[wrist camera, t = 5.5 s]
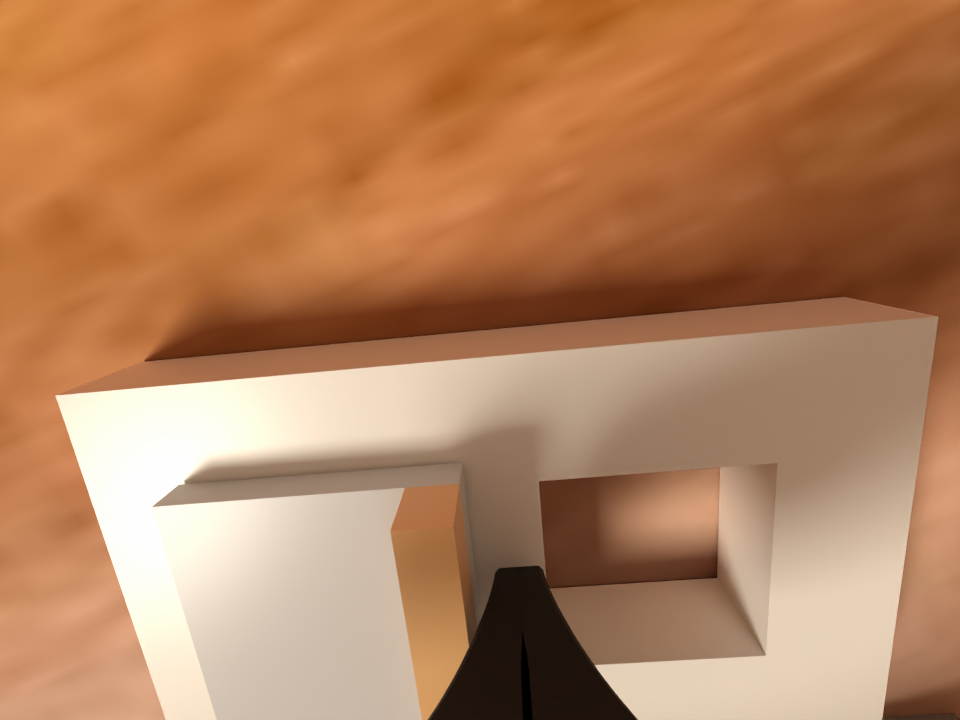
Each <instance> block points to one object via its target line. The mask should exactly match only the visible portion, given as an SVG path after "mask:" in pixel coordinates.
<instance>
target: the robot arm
mask: <svg viewBox="0 0 960 720" xmlns="http://www.w3.org/2000/svg"><path fill="white" fill-rule="evenodd" d="M428 720H638V719H637V718H636V717H635V716H634V715H633V713H632V712H631V711H630V710H629V709H628V707H627V706H626V705H625V704H624V703H623V701H622V700H621V699H620V698H619V697H618V695H617V694H616V693H615V692H614V690H613V689H612V688H611V687H610V685H609V684H608V683H607V681H606V680H605V679H604V678H603V676H602V675H601V673H600V672H599V671H598V669H597V668H596V667H595V665H594V664H593V662H592V661H591V659H590V658H589V656H588V655H587V653H586V652H585V650H584V649H583V647H582V646H581V644H580V643H579V641H578V640H577V638H576V636H575V635H574V633H573V632H572V630H571V628H570V626H569V625H568V623H567V621H566V619H565V618H564V616H563V614H562V612H561V610H560V609H559V607H558V605H557V603H556V601H555V599H554V597H553V595H552V592H551V590H550V588H549V585H548V583H547V580H546V577H545V574H544V571H543V569H542V568H541V567H540V566H523V567H508V568H499V569H498V570H497V571H496V572H495V576H494V581H493V585H492V589H491V593H490V596H489V599H488V602H487V605H486V608H485V610H484V613H483V615H482V618H481V620H480V623H479V625H478V628H477V630H476V633H475V635H474V638H473V640H472V642H471V644H470V646H469V648H468V650H467V652H466V654H465V656H464V658H463V661H462V663H461V665H460V667H459V668H458V670H457V672H456V674H455V676H454V678H453V680H452V681H451V683H450V685H449V687H448V688H447V690H446V692H445V693H444V695H443V697H442V698H441V700H440V702H439V703H438V705H437V706H436V708H435V709H434V711H433V712H432V714H431V716H430V717H429V719H428Z"/></svg>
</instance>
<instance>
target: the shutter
mask: <svg viewBox="0 0 960 720" xmlns="http://www.w3.org/2000/svg"><path fill="white" fill-rule="evenodd" d="M152 510H153V513H154V517H155V520H156V523H157V526H158V530H159V533H160V536H161V539H162V543H163V546H164V549H165V552H166V556H167V559H168V562H169V566H170V569H171V572H172V575H173V579H174V582H175V585H176V588H177V592H178V595H179V598H180V601H181V605H182V608H183V611H184V615H185V618H186V621H187V624H188V628H189V631H190V634H191V637H192V641H193V644H194V647H195V650H196V654H197V657H198V660H199V664H200V667H201V670H202V673H203V677H204V680H205V683H206V686H207V690H208V693H209V696H210V699H211V703H212V706H213V709H214V713H215V716H216V719H217V720H428V719H429V717H430V716H431V714H432V712H433V711H434V709H435V708H436V706H437V705H438V703H439V702H440V700H441V698H442V697H443V695H444V693H445V692H446V690H447V688H448V687H449V685H450V683H451V681H452V680H453V678H454V676H455V674H456V672H457V670H458V668H459V667H460V665H461V663H462V661H463V658H464V656H465V654H466V652H467V650H468V648H469V646H470V644H471V642H472V640H473V638H474V635H475V633H476V630H477V628H478V625H479V623H480V620H481V614H480V605H479V597H478V589H477V580H476V572H475V564H474V556H473V547H472V539H471V531H470V522H469V514H468V506H467V497H466V489H465V481H464V472H463V464H462V463H449V464H437V465H424V466H411V467H398V468H386V469H373V470H360V471H347V472H334V473H322V474H309V475H296V476H283V477H270V478H258V479H245V480H232V481H219V482H206V483H194V484H181V485H178V486H177V487H175V488H174V489H173V490H172V491H170V492H169V493H168V494H167V495H166V496H164V497H163V498H162V499H161V500H159V501H158V502H157V503H156V504H155V505H153V506H152Z"/></svg>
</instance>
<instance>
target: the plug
mask: <svg viewBox="0 0 960 720" xmlns="http://www.w3.org/2000/svg"><path fill="white" fill-rule="evenodd" d="M882 720H960V719H959V718H958V717H957V716H956V715H955V714H954V713H951V714H930V715H909V716H889V717H882Z"/></svg>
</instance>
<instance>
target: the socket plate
mask: <svg viewBox="0 0 960 720" xmlns="http://www.w3.org/2000/svg"><path fill="white" fill-rule="evenodd" d="M938 318H939V316H934V315H929V314H925V313H920V312H915V311H910V310H905V309H901V308H896V307H891V306H886V305H881V304H877V303H872V302H867V301H862V300H857V299H852V298H848V297H837V298H826V299H815V300H804V301H794V302H783V303H772V304H761V305H750V306H740V307H729V308H718V309H707V310H697V311H686V312H675V313H664V314H653V315H643V316H632V317H621V318H610V319H599V320H589V321H578V322H567V323H556V324H545V325H535V326H524V327H513V328H502V329H491V330H481V331H470V332H459V333H448V334H437V335H427V336H416V337H405V338H394V339H383V340H373V341H362V342H351V343H340V344H329V345H319V346H308V347H297V348H286V349H275V350H265V351H254V352H243V353H232V354H221V355H211V356H200V357H189V358H178V359H167V360H157V361H146V362H141V363H138V364H135V365H133V366H130V367H128V368H125V369H123V370H120V371H117V372H115V373H112V374H110V375H107V376H105V377H102V378H100V379H97V380H94V381H92V382H89V383H87V384H84V385H82V386H79V387H76V388H74V389H71V390H69V391H66V392H64V393H61V394H58V395H56V398H57V401H58V404H59V407H60V410H61V413H62V416H63V419H64V422H65V425H66V427H67V430H68V433H69V436H70V439H71V442H72V445H73V448H74V451H75V454H76V457H77V460H78V463H79V466H80V469H81V472H82V475H83V477H84V480H85V483H86V486H87V489H88V492H89V495H90V498H91V501H92V504H93V507H94V510H95V513H96V516H97V519H98V522H99V524H100V527H101V530H102V533H103V536H104V539H105V542H106V545H107V548H108V551H109V554H110V557H111V560H112V563H113V566H114V569H115V572H116V574H117V577H118V580H119V583H120V586H121V589H122V592H123V595H124V598H125V601H126V604H127V607H128V610H129V613H130V616H131V619H132V622H133V624H134V627H135V630H136V633H137V636H138V639H139V642H140V645H141V648H142V651H143V654H144V657H145V660H146V663H147V666H148V669H149V671H150V674H151V677H152V680H153V683H154V686H155V689H156V692H157V695H158V698H159V701H160V704H161V707H162V710H163V713H164V716H165V719H166V720H217V719H216V716H215V713H214V709H213V706H212V703H211V699H210V696H209V693H208V690H207V686H206V683H205V680H204V677H203V673H202V670H201V667H200V664H199V660H198V657H197V654H196V650H195V647H194V644H193V641H192V637H191V634H190V631H189V628H188V624H187V621H186V618H185V615H184V611H183V608H182V605H181V601H180V598H179V595H178V592H177V588H176V585H175V582H174V579H173V575H172V572H171V569H170V566H169V562H168V559H167V556H166V552H165V549H164V546H163V543H162V539H161V536H160V533H159V530H158V526H157V523H156V520H155V517H154V513H153V510H152V506H153V505H155V504H156V503H157V502H158V501H159V500H161V499H162V498H163V497H164V496H166V495H167V494H168V493H169V492H170V491H172V490H173V489H174V488H175V487H177V486H178V485H181V484H194V483H206V482H219V481H232V480H245V479H258V478H270V477H283V476H296V475H309V474H322V473H334V472H347V471H360V470H373V469H386V468H398V467H411V466H424V465H437V464H449V463H462V464H463V472H464V481H465V489H466V497H467V506H468V514H469V522H470V531H471V539H472V547H473V556H474V564H475V572H476V580H477V589H478V597H479V605H480V614H481V618H482V615H483V613H484V610H485V608H486V605H487V602H488V599H489V596H490V593H491V589H492V585H493V581H494V576H495V572H496V571H497V570H498V569H499V568H508V567H523V566H540V567H541V568H542V569H543V571H544V574H545V577H546V568H545V555H544V542H543V529H542V516H541V503H540V490H539V481H549V480H562V479H575V478H588V477H602V476H615V475H628V474H641V473H655V472H668V471H681V470H694V469H708V468H720V492H719V528H718V565H717V578H708V579H692V580H676V581H661V582H645V583H629V584H613V585H598V586H582V587H566V588H550V590H551V592H552V595H553V597H554V599H555V601H556V603H557V605H558V607H559V609H560V610H561V612H562V614H563V616H564V618H565V619H566V621H567V623H568V625H569V626H570V628H571V630H572V632H573V633H574V635H575V636H576V638H577V640H578V641H579V643H580V644H581V646H582V647H583V649H584V650H585V652H586V653H587V655H588V656H589V658H590V659H591V661H592V662H593V664H594V665H595V667H596V668H597V669H598V671H599V672H600V673H601V675H602V676H603V678H604V679H605V680H606V681H607V683H608V684H609V685H610V687H611V688H612V689H613V690H614V692H615V693H616V694H617V695H618V697H619V698H620V699H621V700H622V701H623V703H624V704H625V705H626V706H627V707H628V709H629V710H630V711H631V712H632V713H633V715H634V716H635V717H636V718H637V719H638V720H882V717H883V710H884V703H885V696H886V689H887V681H888V674H889V667H890V660H891V653H892V646H893V639H894V632H895V625H896V617H897V610H898V603H899V596H900V589H901V582H902V575H903V568H904V560H905V553H906V546H907V539H908V532H909V525H910V518H911V511H912V504H913V496H914V489H915V482H916V475H917V468H918V461H919V454H920V447H921V439H922V432H923V425H924V418H925V411H926V404H927V397H928V390H929V383H930V375H931V368H932V361H933V354H934V347H935V340H936V333H937V326H938Z"/></svg>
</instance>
